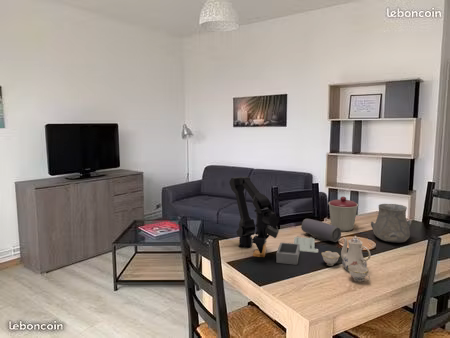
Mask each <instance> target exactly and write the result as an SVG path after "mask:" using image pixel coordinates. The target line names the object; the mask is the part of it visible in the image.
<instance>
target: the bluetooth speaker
mask: <svg viewBox="0 0 450 338" xmlns="http://www.w3.org/2000/svg"><path fill="white" fill-rule="evenodd" d="M300 225H301V226H300V227H301V231H302V232H304V233H306V234H308V235H311V236H312V238H314V239H315V238H316V239H317V240H320V241H324V242H330V241H331V242H333V243H337V242H338V241H339V240H340V239H341V237H342V231H341V230H340V228H338V227H336V226H333V225H331V223H327V222H324V221H321V220H317V219H311V218H305V219H303V220H302V222H301V224H300Z"/></svg>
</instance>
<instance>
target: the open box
mask: <svg viewBox="0 0 450 338" xmlns="http://www.w3.org/2000/svg"><path fill="white" fill-rule="evenodd" d="M300 252H301V251H300V244H294V243H290V242H280V243H279V246H278V247H277V251H276V255H275V256H276V261H275V262H276V263H277V264H285V265H287V264H288V265H294V266H295V265H296V266H297V265H298V263H299V258H300Z"/></svg>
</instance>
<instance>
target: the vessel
mask: <svg viewBox="0 0 450 338" xmlns="http://www.w3.org/2000/svg"><path fill="white" fill-rule="evenodd" d="M407 209H408V208H407V206H406V205H402V204H396V203H380V204H379V205H378V213H377V217H376V221H375V223H374V221H371V222H370V226H371V229H372V230H373V234H374V235H375V237H377V238H378V239H379V240H381V241H383V242H388V243H397V244H398V243H399V244H400V243H405V242H406V241H407V240H408V239H410V235H411V231H410V228H411V225H412V220H410V219H409V220H407V217H406V216H407V215H406V213H407Z"/></svg>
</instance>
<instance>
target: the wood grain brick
mask: <svg viewBox="0 0 450 338" xmlns="http://www.w3.org/2000/svg"><path fill="white" fill-rule="evenodd" d="M266 255H267V242H266V243H265V244H264V245H263V251H262V253H260V252H259V250H258V249H256V250H254V251H253V253H252V256H253V257H257V258H265V256H266Z"/></svg>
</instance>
